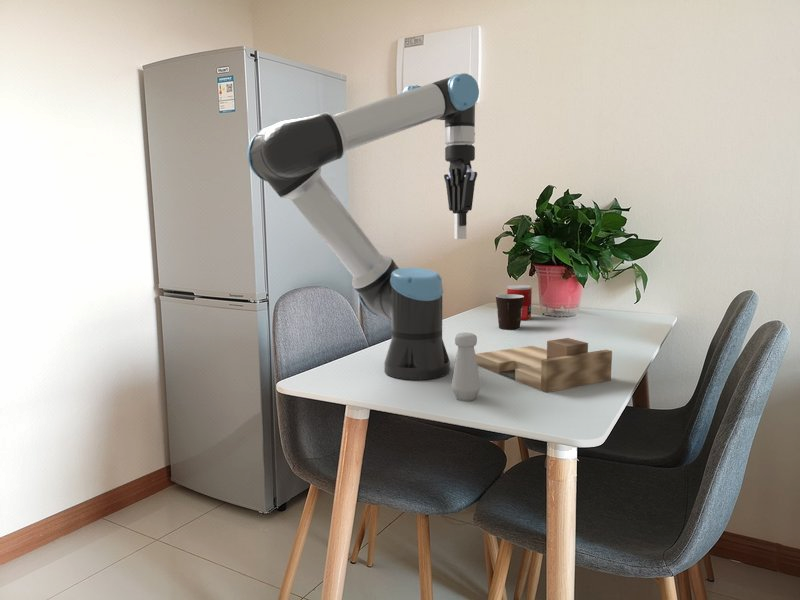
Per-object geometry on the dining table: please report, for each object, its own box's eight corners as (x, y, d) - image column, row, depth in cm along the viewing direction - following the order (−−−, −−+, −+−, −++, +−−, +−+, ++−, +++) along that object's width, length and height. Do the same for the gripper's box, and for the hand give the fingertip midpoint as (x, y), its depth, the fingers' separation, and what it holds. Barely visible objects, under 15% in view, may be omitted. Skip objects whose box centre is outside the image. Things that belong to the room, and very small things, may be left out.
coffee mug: (504, 324, 196) (504, 293, 194) (528, 327, 190) (529, 295, 189) (484, 330, 187) (485, 297, 185) (509, 333, 181) (510, 300, 180)
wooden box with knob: (545, 392, 123) (546, 361, 122) (473, 364, 146) (474, 337, 145) (610, 380, 131) (612, 350, 130) (533, 355, 154) (533, 330, 153)
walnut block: (566, 374, 127) (566, 346, 127) (546, 367, 133) (547, 340, 132) (587, 370, 130) (588, 342, 129) (567, 364, 135) (568, 337, 135)
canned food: (533, 320, 202) (533, 287, 200) (509, 320, 201) (509, 287, 200) (528, 316, 209) (528, 284, 207) (505, 316, 209) (505, 285, 207)
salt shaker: (469, 391, 125) (470, 329, 123) (486, 399, 120) (487, 334, 118) (445, 396, 122) (445, 332, 120) (461, 404, 117) (461, 337, 115)
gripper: (486, 143, 149) (486, 239, 153) (459, 147, 161) (460, 237, 165) (460, 142, 146) (460, 240, 150) (434, 147, 158) (435, 238, 162)
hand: (460, 238), depth 157 cm, fingers closed
